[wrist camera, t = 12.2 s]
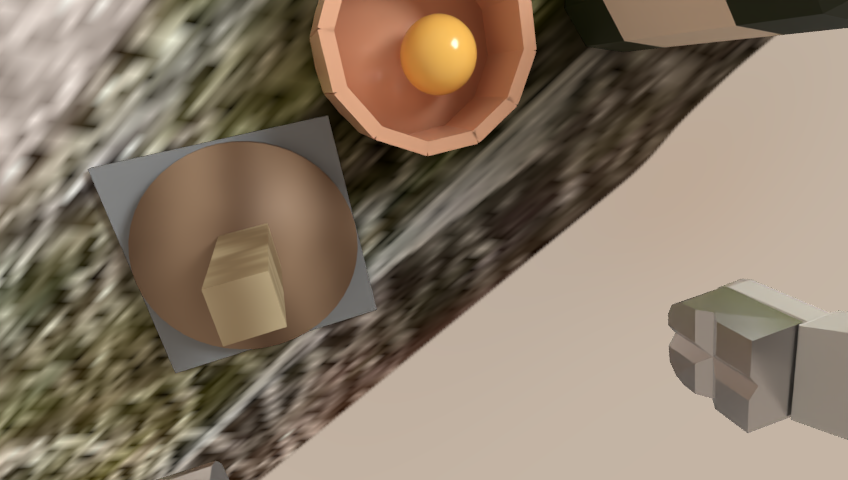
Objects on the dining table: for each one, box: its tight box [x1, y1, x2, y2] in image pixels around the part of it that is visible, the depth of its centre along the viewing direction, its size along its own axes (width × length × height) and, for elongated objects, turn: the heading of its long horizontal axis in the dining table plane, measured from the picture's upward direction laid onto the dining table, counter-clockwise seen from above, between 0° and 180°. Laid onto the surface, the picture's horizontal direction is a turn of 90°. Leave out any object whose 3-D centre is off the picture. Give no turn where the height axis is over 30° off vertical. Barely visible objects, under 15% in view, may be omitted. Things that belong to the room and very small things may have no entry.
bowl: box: [309, 0, 537, 156], centre depth 30 cm, size 12×12×6 cm
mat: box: [88, 116, 377, 373], centre depth 33 cm, size 14×14×1 cm
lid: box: [128, 141, 358, 349], centre depth 28 cm, size 14×14×10 cm
